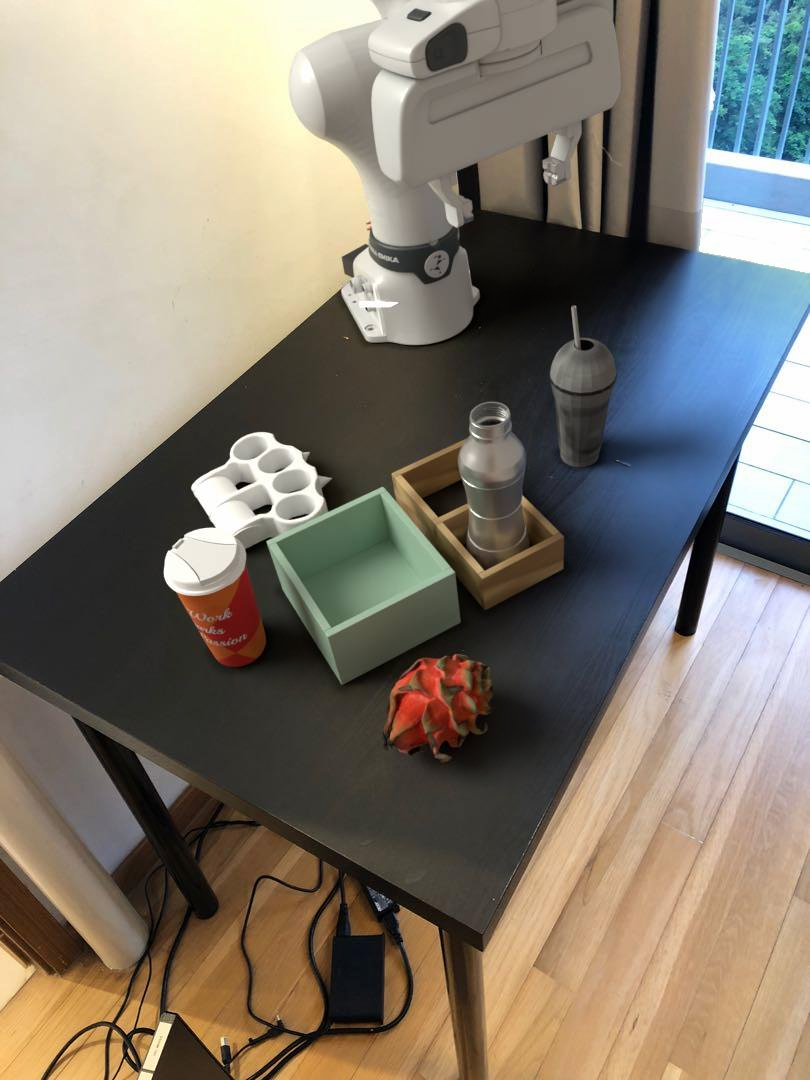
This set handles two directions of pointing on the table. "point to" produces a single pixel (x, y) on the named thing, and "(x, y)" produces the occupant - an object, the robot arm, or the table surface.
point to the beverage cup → (581, 396)
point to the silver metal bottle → (493, 486)
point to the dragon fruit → (437, 704)
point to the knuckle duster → (261, 489)
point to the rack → (453, 531)
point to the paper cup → (217, 594)
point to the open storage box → (365, 583)
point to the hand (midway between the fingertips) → (509, 201)
